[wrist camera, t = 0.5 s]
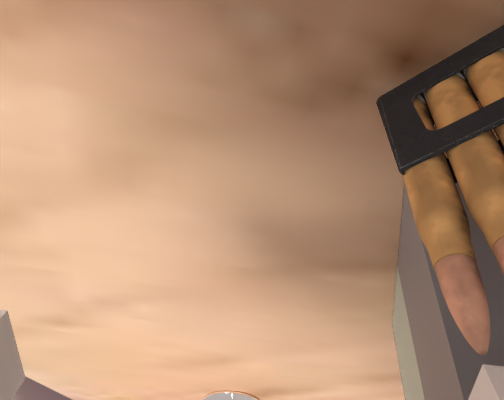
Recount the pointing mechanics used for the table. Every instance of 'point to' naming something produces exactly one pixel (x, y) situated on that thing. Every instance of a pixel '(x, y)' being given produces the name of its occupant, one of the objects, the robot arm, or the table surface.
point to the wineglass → (229, 396)
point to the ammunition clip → (455, 169)
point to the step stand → (440, 318)
